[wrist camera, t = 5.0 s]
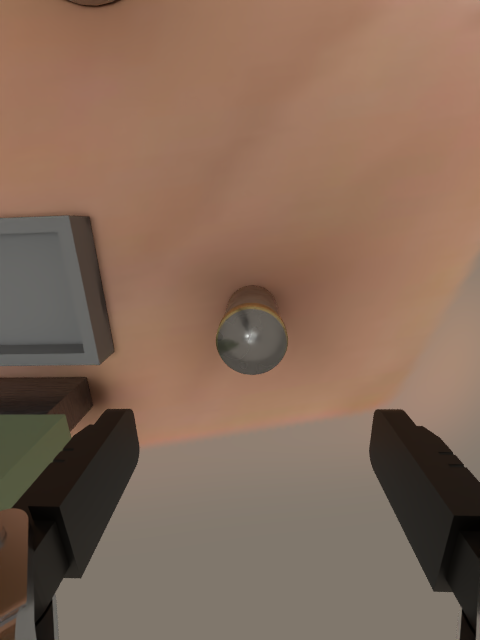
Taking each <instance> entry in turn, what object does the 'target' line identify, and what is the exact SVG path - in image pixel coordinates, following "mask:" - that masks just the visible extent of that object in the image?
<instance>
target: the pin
mask: <svg viewBox="0 0 480 640" xmlns="http://www.w3.org/2000/svg"><path fill="white" fill-rule="evenodd" d="M216 345H217V350H218V352H219V355H220V356H221V358H222V360H223V361H224V362H225V363H226V364H227V365H228V366H229V367H230V368H232V369H233V370H235V371H237V372H239V373H243V374H248V375H256V374H262V373H265V372H267V371H269V370H271V369H273V368H274V367H275V366H276V365H277V364H278V363H279V362H280V361H281V360H282V358H283V356H284V355H285V352H286V350H287V346H288V336H287V332H286V328H285V325H284V323H283V321H282V319H281V317H280V314H279V311H278V308H277V304H276V301H275V299H274V297H273V296H272V294H271V293H270V292H269V291H268V290H266V289H265V288H262V287H260V286H255V285H250V286H245V287H242V288H240V289H238V290H237V291H236V292H234V293H233V295H232V296H231V298H230V300H229V302H228V305H227V308H226V312H225V315H224V317H223V319H222V320H221V322H220V325H219V328H218V331H217V335H216Z"/></svg>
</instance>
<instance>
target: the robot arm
mask: <svg viewBox="0 0 480 640" xmlns="http://www.w3.org/2000/svg"><path fill="white" fill-rule="evenodd" d="M69 1H72V2H74V3H77V4H80V5H101V4H105V3H110V2H113V1H115V0H69ZM369 453H370V461H371V464H372V467H373V470H374V472H375V474H376V476H377V478H378V480H379V482H380V484H381V486H382V488H383V490H384V492H385V494H386V496H387V498H388V500H389V502H390V504H391V506H392V508H393V510H394V512H395V514H396V516H397V518H398V520H399V522H400V524H401V526H402V528H403V530H404V532H405V535H406V537H407V539H408V541H409V543H410V544H411V546H412V549H413V551H414V553H415V555H416V557H417V558H418V561H419V563H420V565H421V567H422V569H423V571H424V573H425V575H426V577H427V579H428V581H429V583H430V585H431V587H432V589H433V591H437V592H453V593H454V595H455V597H456V598H457V600H458V602H459V604H460V609H459V613H458V622H457V634H456V640H480V482H479V481H478V480H477V479H476V478H475V477H474V475H473V474H472V473H471V472H470V471H469V470H468V469H467V468H465V467H464V464H463V463H462V462H461V461H460V460H459V459H458V458H457V456H456V455H453V452H452V451H451V450H450V449H449V447H448V446H447V445H446V444H445V443H444V442H443V441H442V440H441V438H439V437H438V436H436V435H435V434H434V433H432V432H430V431H429V430H427V429H426V428H425V427H423V426H416V425H415V424H414V422H413V421H412V420H411V419H410V417H409V416H408V415H407V414H406V413H405V412H404V411H403V410H399V409H397V410H395V409H391V410H390V409H377V410H376V411H375V412H374V417H373V424H372V433H371V440H370V448H369ZM138 458H139V442H138V436H137V430H136V424H135V418H134V413H133V411H132V410H131V409H107V410H106V411H105V412H104V413H103V414H102V415H101V417H100V418H99V419H98V420H97V421H96V423H95V424H94V425H88V426H87V427H85V428H84V429H83V430H81V431H80V432H78V433H77V434H75V435H74V436H73V437H72V438H71V440H70V441H69V442H68V443H67V444H66V445H65V446H64V448H63V450H62V451H60V452H59V453H58V455H57V456H56V457H55V458H54V459H53V462H52V463H50V464H49V465H48V466H47V467H46V468H45V470H44V471H43V472H42V473H41V474H40V475H39V477H38V478H37V479H36V480H35V481H34V482H33V483H32V485H31V486H30V487H29V488H28V489H27V490H26V492H25V493H24V494H23V495H22V496H21V497H20V499H19V500H18V501H17V502H16V503H15V504H14V505H13V507H12V508H11V509H5V510H2V511H0V640H59V632H58V615H57V600H56V595H55V592H56V590H57V588H58V587H59V585H60V583H61V581H62V579H63V578H81V577H82V575H83V573H84V571H85V569H86V567H87V565H88V563H89V561H90V559H91V557H92V555H93V553H94V551H95V549H96V547H97V544H98V543H99V541H100V538H101V536H102V534H103V532H104V530H105V528H106V526H107V524H108V522H109V520H110V518H111V516H112V514H113V512H114V510H115V508H116V506H117V504H118V502H119V500H120V498H121V496H122V494H123V492H124V490H125V488H126V486H127V484H128V482H129V479H130V477H131V475H132V473H133V471H134V469H135V467H136V465H137V462H138Z"/></svg>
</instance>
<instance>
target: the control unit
mask: <svg viewBox="0 0 480 640" xmlns="http://www.w3.org/2000/svg"><path fill="white" fill-rule="evenodd" d="M92 407H93V403H92V399H91V395H90V390H89V386H88V381H87V377H71V378H0V511H2V510H5V509H11V508H12V507H13V505H14V504H15V503H16V502H17V501H18V500H19V499H20V497H21V496H22V495H23V494H24V493H25V492H26V490H27V489H28V488H29V487H30V486H31V485H32V483H33V482H34V481H35V480H36V479H37V478H38V477H39V475H40V474H41V473H42V472H43V471H44V470H45V468H46V467H47V466H48V465H49V464H50V463H52V462H53V459H54V458H55V457H56V456H57V455H58V453H59V452H60V451H62V450H63V448H64V446H65V445H66V444H67V443H68V442H69V441H70V440H71V434H70V431H71V430H72V429H73V428H74V427H75V426H76V425H77V423H78V422H79V421H80V420H81V419H82V418H83V417H84V416H85V414H86V413H87V412H88V411H89V410H90V409H91V408H92Z"/></svg>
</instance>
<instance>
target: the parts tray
mask: <svg viewBox="0 0 480 640" xmlns="http://www.w3.org/2000/svg"><path fill="white" fill-rule="evenodd" d="M113 352H114V347H113V342H112V336H111V331H110V326H109V320H108V315H107V310H106V304H105V299H104V293H103V288H102V283H101V277H100V272H99V267H98V261H97V256H96V251H95V245H94V240H93V235H92V229H91V224H90V219H89V217H86V216H44V217H18V218H0V366H40V365H100V364H101V363H102V362H103V361H104V360H106V359H107V358H108V357H109V356H110V355H111V354H112V353H113Z"/></svg>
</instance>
